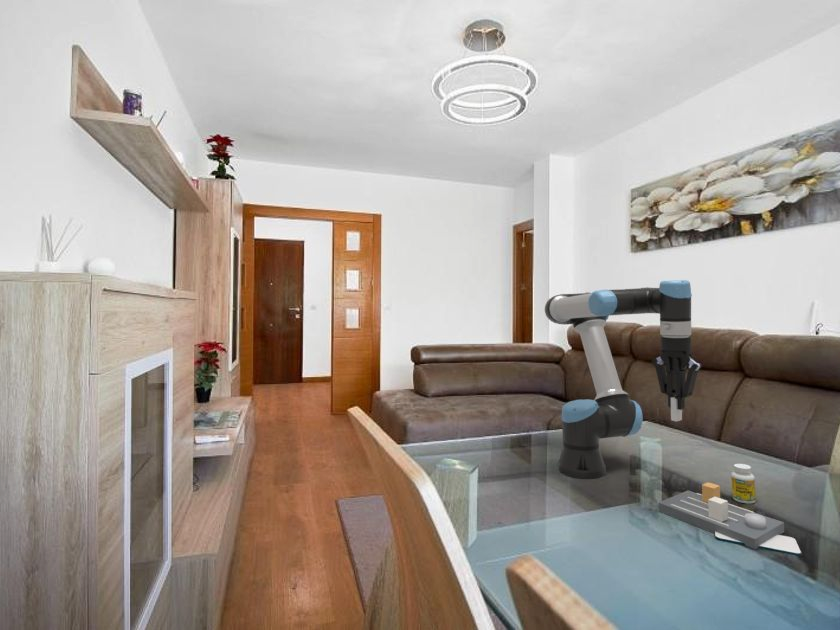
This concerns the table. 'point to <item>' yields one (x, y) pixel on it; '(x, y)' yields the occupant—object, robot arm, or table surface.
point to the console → (737, 526)
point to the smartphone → (769, 543)
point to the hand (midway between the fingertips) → (676, 420)
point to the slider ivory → (718, 509)
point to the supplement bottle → (743, 484)
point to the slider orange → (710, 491)
